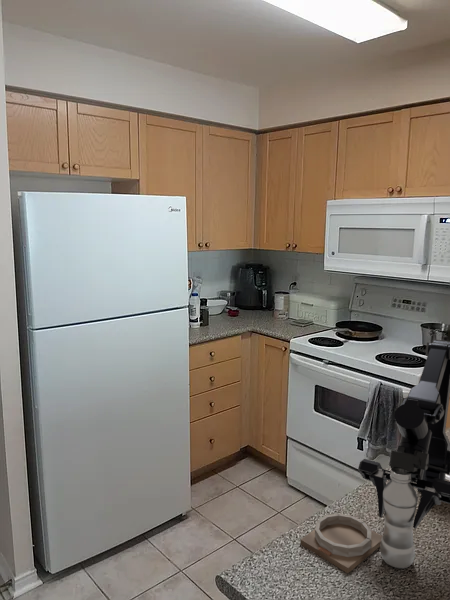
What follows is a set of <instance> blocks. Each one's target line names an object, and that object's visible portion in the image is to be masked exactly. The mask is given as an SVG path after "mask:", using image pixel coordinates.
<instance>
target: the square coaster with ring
mask: <svg viewBox="0 0 450 600" xmlns="http://www.w3.org/2000/svg"><path fill="white" fill-rule="evenodd" d="M382 536H383V534H382V535H381V533H378V532H376V531H375V530H372V529H371V528H370V527H369V525H367V523H366V522H365V521H363V520H361V519H359V518H357V517H356V516H353V515H349V514H343V513H331V514H326V515H325V514H324V516H322V517H321V518H319V519H317V520H316V523H315V528H314V530H312V531H310V532H309V533H308V534H306V535H305V536H303V537H301V538H300V542H299V544H300V546H302V547H304V548H305V549H307V550H308V551H310V552H312V553H314V554H315V555H317V556H319V557H320V558H322V559H324V561H327V562H328V563H330V564H332V565H333V566H335V567H336V568H338V569H340V570H341V571H343V572H345V573H346V574H349V573H350V572H352V571H353V570H354V569H355V568H357V566H359V565H360V564H361V563H362V562H363V561H365V560H366V559H368V557H369V556H370V555H372V554H373V553H374V552H375V551H377V550H378V549H380V544H381V539H382Z"/></svg>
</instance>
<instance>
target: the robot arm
mask: <svg viewBox="0 0 450 600" xmlns="http://www.w3.org/2000/svg"><path fill="white" fill-rule="evenodd" d="M425 348H426V350H425V356H426V360H425V362H424V366H423V369H422V373H421V375H420V378H419V381H418V384H417V385H415V386H413V387H412V388H411V387H410V390H409V393H408V394H407V395H408V396H407V397H405V398H404V400H403V401H402V403H401V404H400V405H399V407H397V408H396V410H394V413H393V416H394V421H395V423H396V426H397V429H398V431H399V433H400V434H401V437H400V441H399V445H398V446H397V450H395V449H393V450H392V449H391V450H390V457H389V462H388V466H389V467H390V469H391V468H392V467H399V468H403V469H405V470H406V471H410V472H411V482H410V484H411V485H412V487H413V488H414V489H417V491H418V492H419V493H421V496H420V500H419V503H418V506H417V508H416V511H415V515H414V522H413V529H415V530H416V529H417V528H418V526H419V525H420V524H421V522H422V520H423V519H424V518H425V516H427V514H428V512H430V511H431V510H432V508H433V507H434V506H435V505H436V506H437V505H439V506H441V505H442V503H446V504H449V505H450V481H449V480H446V476H447V475H450V440H449V438H448V435H447V433H446V428H447V419H448V411H449V406H450V405H449V403H450V340H445V339H444V340H443V339H434V340H433V341H432V342H426V347H425ZM357 471H358V472H359V473H360V474H359V475H360V476H361V477H362V478H363V479H364V480H367V481H370V482H372V484H373V486H375V488H376V494H377V505H378V506H377V507H378V516H379V518H381V519H382V518H383V517H384V502H383V490H384V488H385V486H386V485H387V484H388V483H387V482H388V481H389V482H390V481H391V479H390V474H391V470H387V469H385V468H383V467H382V464H381V463H380V462H378V461H375V460H370V459H366V458H363V459H362V460H360V462H359V465H358V469H357Z"/></svg>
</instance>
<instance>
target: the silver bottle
mask: <svg viewBox="0 0 450 600" xmlns="http://www.w3.org/2000/svg"><path fill="white" fill-rule="evenodd" d="M390 471H391V474H390V479H391V481H390V480H389V482H388V483H386V484H387V485H386V486H385V488H384V490H383V502H384V513H383V517H384V524H383V532H382V539H381V544H380V547H379V550H380V551H379V552H380V556H381V558H382V559H383V561H384V562H385V563H386V564H387V565H388V566H390V567H392V568H396V569H406V568H409V567H410V566H411V565H412V564H413V562H414V560H415V558H416V557H415V556H416V550H415V545H414V530H413V529H414V528H413V524H414V519H415V515H416V511H417V507H418V506H417V504H418V499H419V497H418V494H417V491H416V490H415V488H414V487H412V485H411V484H410V482H411V472H410V471H406V470H405V469H403V468H399V467H392V468H391V467H390Z"/></svg>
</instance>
